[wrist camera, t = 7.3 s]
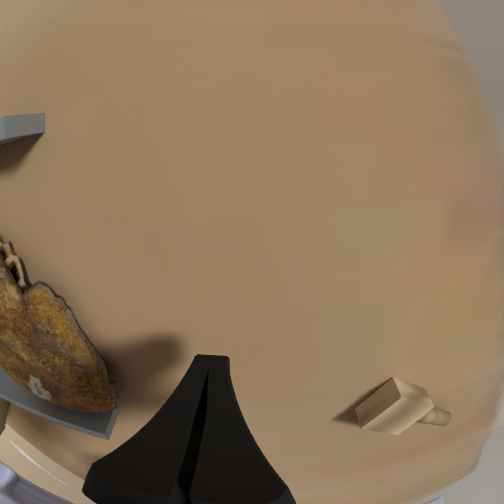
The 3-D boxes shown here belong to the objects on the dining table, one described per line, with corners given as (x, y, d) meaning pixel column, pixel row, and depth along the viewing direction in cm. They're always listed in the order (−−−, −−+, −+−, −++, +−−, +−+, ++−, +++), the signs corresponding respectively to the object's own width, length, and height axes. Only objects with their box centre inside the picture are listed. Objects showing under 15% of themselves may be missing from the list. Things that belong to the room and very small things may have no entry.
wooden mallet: (456, 400, 20) (464, 414, 18) (427, 424, 21) (433, 438, 19) (392, 376, 17) (401, 397, 15) (354, 408, 18) (360, 428, 17)
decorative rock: (-34, 256, 14) (62, 388, 20) (-64, 281, 10) (45, 420, 16) (22, 195, 12) (149, 384, 18) (-28, 225, 8) (133, 431, 14)
